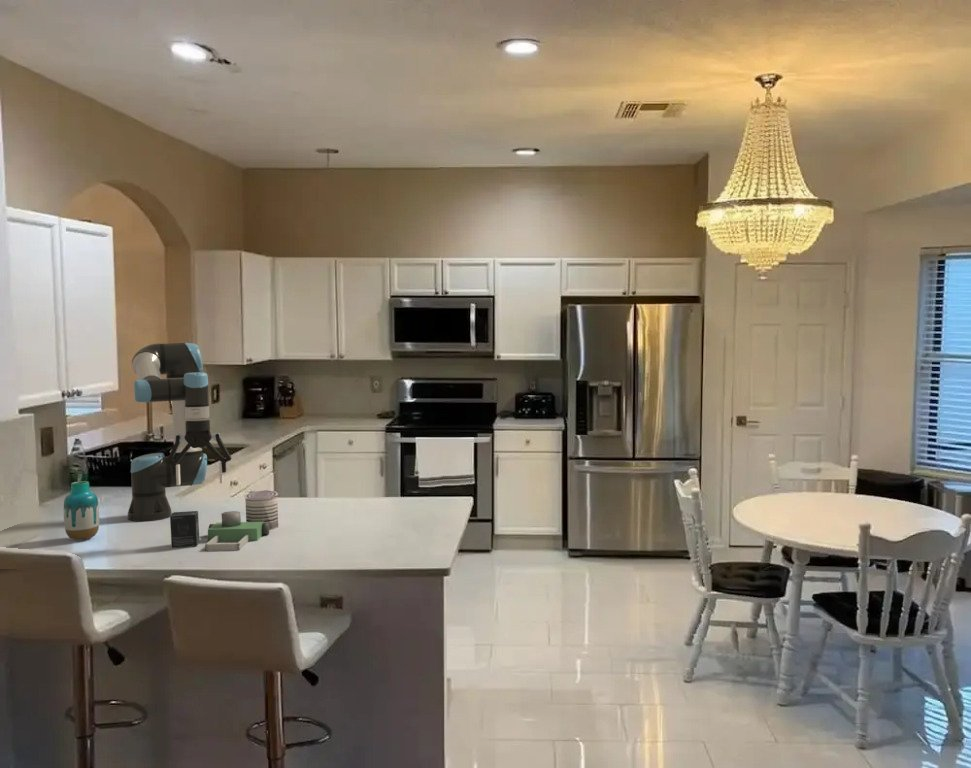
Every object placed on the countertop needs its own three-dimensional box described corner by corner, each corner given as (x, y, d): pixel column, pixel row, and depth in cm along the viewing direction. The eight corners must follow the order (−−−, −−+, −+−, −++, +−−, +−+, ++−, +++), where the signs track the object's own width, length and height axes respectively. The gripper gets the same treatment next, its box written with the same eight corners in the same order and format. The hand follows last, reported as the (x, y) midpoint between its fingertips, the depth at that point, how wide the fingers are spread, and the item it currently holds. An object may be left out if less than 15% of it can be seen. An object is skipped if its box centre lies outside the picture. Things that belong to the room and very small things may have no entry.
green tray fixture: (191, 551, 262) (190, 525, 262) (212, 534, 284) (211, 511, 283) (253, 549, 262) (252, 524, 262) (269, 533, 284) (269, 509, 284)
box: (199, 542, 273) (198, 510, 273) (196, 546, 268) (195, 514, 267) (174, 543, 272) (173, 511, 271) (171, 548, 266) (169, 515, 266)
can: (285, 524, 297) (284, 491, 296) (267, 532, 286) (265, 497, 285) (257, 522, 300) (256, 489, 300) (238, 530, 290) (237, 495, 289)
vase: (77, 544, 273) (74, 486, 272) (58, 540, 279) (55, 483, 277) (106, 537, 282) (104, 481, 281) (88, 534, 288) (85, 478, 286)
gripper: (155, 422, 269) (157, 487, 270) (235, 419, 273) (237, 483, 274) (160, 419, 276) (162, 483, 277) (238, 417, 280) (240, 480, 282)
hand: (200, 483), depth 276 cm, fingers open, 13 cm apart
